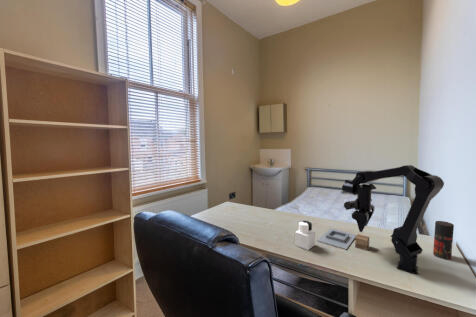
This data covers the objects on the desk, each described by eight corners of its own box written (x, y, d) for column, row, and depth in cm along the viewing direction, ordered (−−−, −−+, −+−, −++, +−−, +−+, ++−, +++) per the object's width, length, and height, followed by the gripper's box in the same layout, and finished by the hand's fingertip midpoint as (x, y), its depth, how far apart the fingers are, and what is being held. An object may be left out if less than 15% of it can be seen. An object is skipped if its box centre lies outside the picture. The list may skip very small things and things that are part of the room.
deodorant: (432, 251, 102) (434, 219, 100) (450, 255, 98) (453, 222, 97) (433, 256, 97) (435, 223, 96) (452, 261, 93) (454, 227, 92)
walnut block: (366, 250, 103) (367, 240, 103) (355, 247, 107) (355, 237, 106) (369, 246, 107) (369, 236, 107) (357, 243, 110) (358, 234, 110)
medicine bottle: (302, 240, 114) (302, 218, 113) (315, 245, 109) (315, 221, 108) (294, 245, 109) (295, 222, 108) (308, 250, 104) (308, 226, 103)
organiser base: (346, 249, 104) (346, 245, 104) (317, 241, 113) (317, 237, 113) (356, 235, 119) (356, 231, 119) (330, 228, 128) (330, 225, 128)
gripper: (350, 190, 117) (350, 219, 118) (340, 198, 103) (339, 230, 104) (375, 194, 109) (374, 224, 111) (367, 202, 95) (366, 237, 97)
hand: (363, 228), depth 106 cm, fingers open, 9 cm apart
